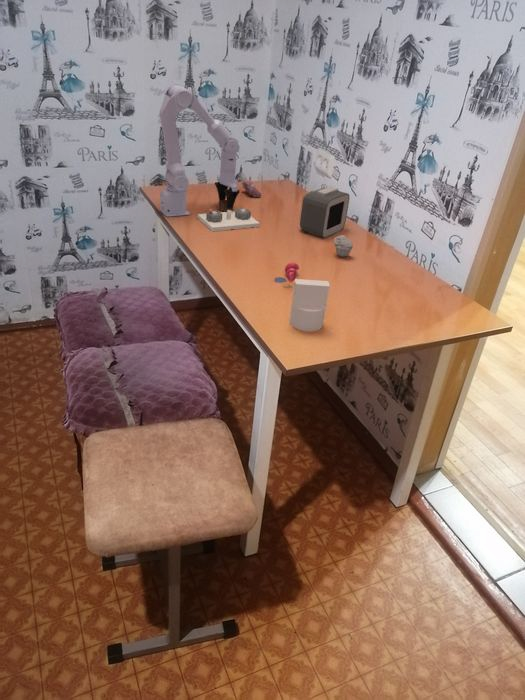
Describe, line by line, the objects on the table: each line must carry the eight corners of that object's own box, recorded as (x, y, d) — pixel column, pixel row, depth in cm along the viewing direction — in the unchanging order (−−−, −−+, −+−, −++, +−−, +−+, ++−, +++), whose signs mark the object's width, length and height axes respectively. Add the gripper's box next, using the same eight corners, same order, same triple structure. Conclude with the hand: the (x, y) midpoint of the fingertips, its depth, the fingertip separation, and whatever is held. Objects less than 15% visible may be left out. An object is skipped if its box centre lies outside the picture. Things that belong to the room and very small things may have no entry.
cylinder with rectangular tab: (320, 315, 157) (327, 276, 150) (324, 332, 149) (331, 291, 143) (288, 313, 156) (293, 273, 150) (290, 330, 149) (296, 289, 142)
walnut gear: (221, 212, 220) (222, 204, 219) (215, 207, 224) (216, 200, 223) (235, 211, 223) (235, 203, 221) (229, 206, 227) (229, 199, 225)
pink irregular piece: (244, 194, 247) (238, 180, 242) (253, 189, 247) (247, 175, 243) (253, 202, 239) (248, 187, 235) (262, 196, 240) (257, 182, 235)
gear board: (212, 231, 202) (212, 216, 199) (197, 218, 213) (197, 203, 210) (259, 226, 211) (260, 212, 208) (243, 214, 221) (244, 200, 218)
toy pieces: (267, 274, 177) (268, 261, 175) (300, 273, 180) (302, 260, 178) (279, 292, 168) (280, 278, 165) (314, 290, 171) (316, 277, 168)
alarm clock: (321, 240, 205) (328, 197, 197) (295, 231, 211) (301, 189, 202) (344, 229, 217) (351, 189, 208) (319, 221, 222) (325, 181, 214)
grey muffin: (335, 250, 198) (339, 231, 194) (354, 256, 195) (357, 236, 192) (328, 255, 194) (331, 236, 190) (347, 261, 191) (350, 241, 187)
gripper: (245, 174, 212) (243, 209, 219) (229, 163, 222) (227, 197, 229) (228, 175, 209) (226, 210, 216) (212, 164, 219) (211, 198, 226)
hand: (226, 204), depth 222 cm, fingers open, 7 cm apart
